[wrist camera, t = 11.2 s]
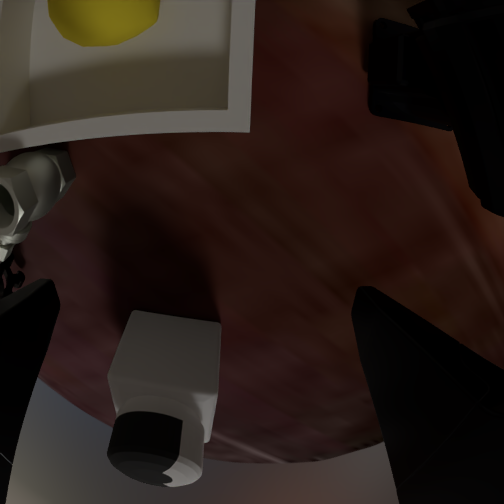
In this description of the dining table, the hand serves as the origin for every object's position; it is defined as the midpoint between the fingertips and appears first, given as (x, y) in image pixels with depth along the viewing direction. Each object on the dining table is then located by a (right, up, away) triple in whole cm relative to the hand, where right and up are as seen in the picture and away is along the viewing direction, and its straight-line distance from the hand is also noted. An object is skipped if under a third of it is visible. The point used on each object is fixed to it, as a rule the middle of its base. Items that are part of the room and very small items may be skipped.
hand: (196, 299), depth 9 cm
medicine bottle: (-5, -7, +17) cm, 19 cm away
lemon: (-6, +15, +4) cm, 17 cm away
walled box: (-6, +15, +5) cm, 17 cm away
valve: (-15, +4, +11) cm, 19 cm away
